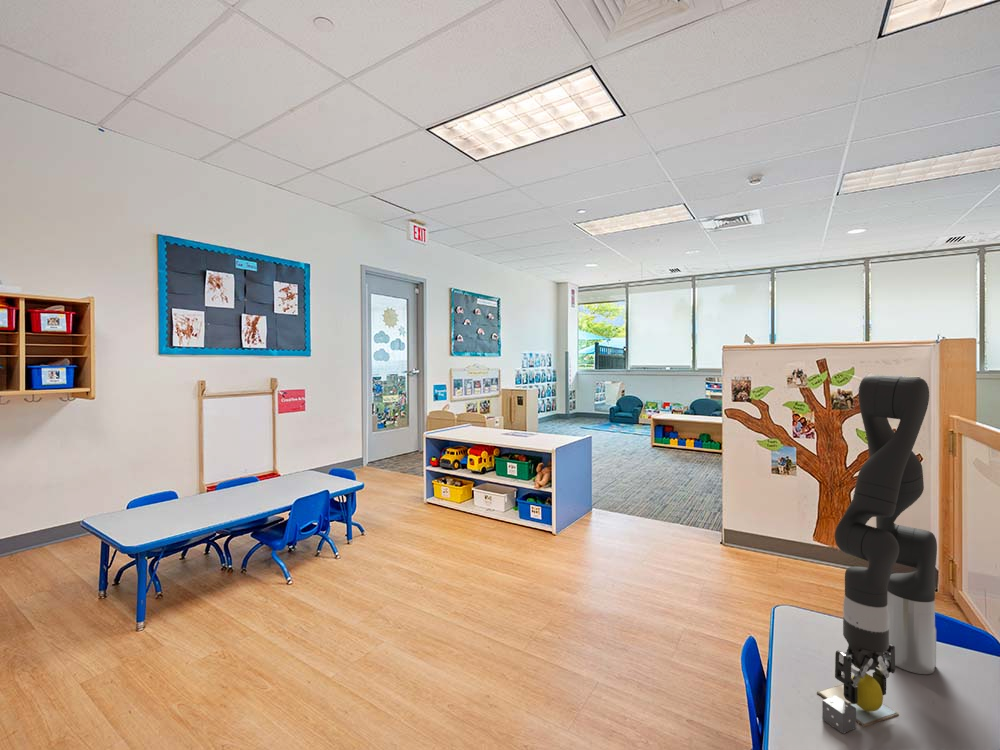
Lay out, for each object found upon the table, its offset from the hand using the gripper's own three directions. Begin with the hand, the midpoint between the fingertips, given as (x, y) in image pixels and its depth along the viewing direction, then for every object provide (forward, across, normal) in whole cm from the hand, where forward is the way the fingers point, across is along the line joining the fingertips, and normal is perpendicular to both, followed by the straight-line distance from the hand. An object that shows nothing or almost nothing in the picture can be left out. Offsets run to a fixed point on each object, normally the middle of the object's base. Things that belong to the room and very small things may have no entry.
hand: (865, 696), depth 96 cm
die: (+1, -8, +2) cm, 8 cm away
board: (+4, +1, +2) cm, 4 cm away
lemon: (+3, 0, 0) cm, 3 cm away
